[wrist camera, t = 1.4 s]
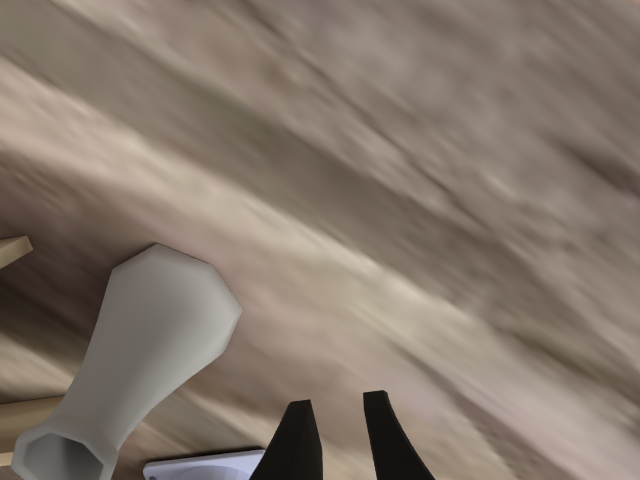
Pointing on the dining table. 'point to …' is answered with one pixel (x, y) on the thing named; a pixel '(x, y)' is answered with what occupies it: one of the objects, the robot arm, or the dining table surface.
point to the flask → (131, 363)
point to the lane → (15, 418)
